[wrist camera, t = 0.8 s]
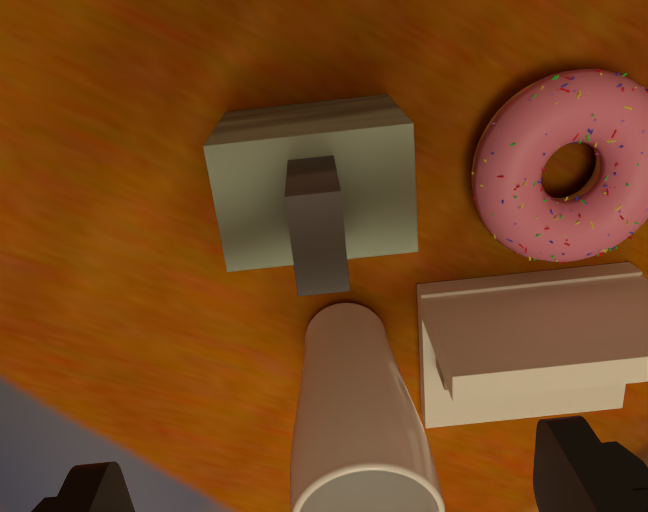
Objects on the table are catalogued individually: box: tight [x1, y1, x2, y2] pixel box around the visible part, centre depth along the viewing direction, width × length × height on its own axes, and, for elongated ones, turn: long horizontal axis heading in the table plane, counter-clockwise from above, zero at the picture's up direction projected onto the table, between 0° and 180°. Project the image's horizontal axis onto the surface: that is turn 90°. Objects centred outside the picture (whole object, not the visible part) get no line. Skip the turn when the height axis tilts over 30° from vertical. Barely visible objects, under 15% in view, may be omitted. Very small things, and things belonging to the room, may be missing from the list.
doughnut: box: [471, 69, 648, 264], centre depth 32 cm, size 11×11×4 cm
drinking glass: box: [290, 303, 445, 512], centre depth 31 cm, size 7×7×15 cm
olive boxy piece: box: [203, 94, 418, 296], centre depth 27 cm, size 6×9×13 cm, turn 96°
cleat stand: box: [417, 262, 648, 428], centre depth 34 cm, size 10×14×10 cm
